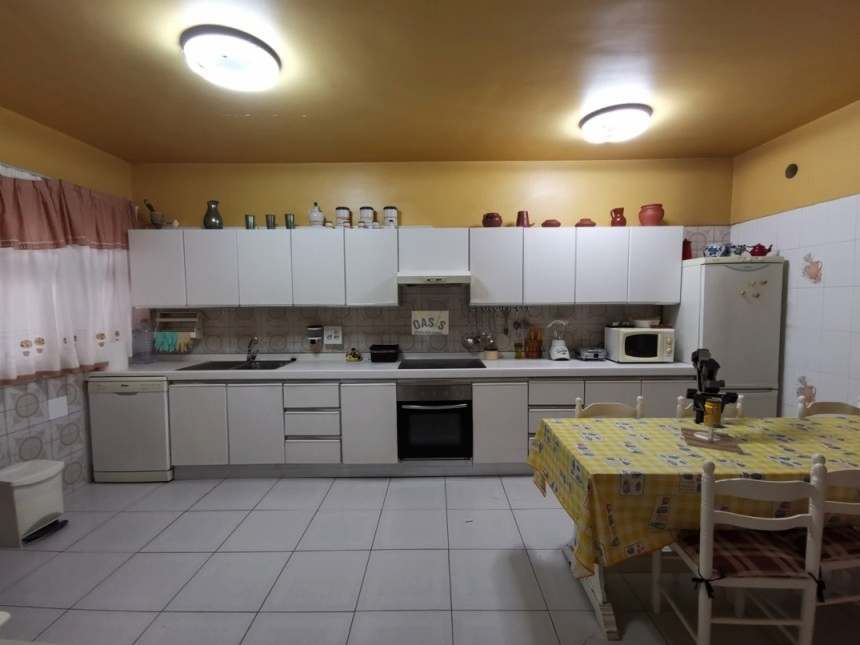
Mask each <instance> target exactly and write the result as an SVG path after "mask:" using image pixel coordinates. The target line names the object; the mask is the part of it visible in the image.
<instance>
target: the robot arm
mask: <svg viewBox="0 0 860 645" xmlns="http://www.w3.org/2000/svg"><path fill="white" fill-rule="evenodd" d="M691 362H692V366H693V368H694V369H695V370H696V388H693V387H692V388H691V387H688V388H687V389H686V391H685V399H688V400H692V404H691V409H692V411H693V412H695V415H694V416H695V418H694V419H693V422H694V423H695V424H697V425H698V424H699V425H701V424H700V423H704V412H705V404H706V399H709V398H710V399H720V402H721V403H720V404H721V405H720V406H721V414H724V411H725V410H724V409H725V407H726V405H729V404H737V401H738V399H739V394H738V392H735V391H725V393H724V394H723V393H720V390H721V388H723V389H725V388H726V381H725V379H719V380H717V375H718V373H719V370H720V369H721V365H720V363H719V362H718V361H717V360H716V359H715V358H712V354H711V352H710V350H709V349H708V348H696V350H695V351H693V352H691V355H690V363H691Z"/></svg>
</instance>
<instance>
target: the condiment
mask: <svg viewBox="0 0 860 645" xmlns="http://www.w3.org/2000/svg"><path fill="white" fill-rule="evenodd" d="M720 403H721V399H720V400H719V399H718V398H712V399H710V398H709V399H706V404H705V412H704V423H700V424H699V425H702V426H704V427H706V428H708V429H709V428H712V429H714V430H716V429H717V430H719V429H729V427H728V426H725V425H724V424H722V423H721V421H722V419H721V418H722V413H721V406H720V405H721V404H720Z"/></svg>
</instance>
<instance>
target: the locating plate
mask: <svg viewBox="0 0 860 645" xmlns="http://www.w3.org/2000/svg"><path fill="white" fill-rule="evenodd" d="M680 431H681V433H682V435H683V438H684V440H685V443H686V445H687V446H688V445H689V447H696V448H703V449H709V450H717V451H722V452H723V451H724V452H730V453H735V454H736V453H737V454H740V453H741V449H740V448H739V447H738V445H737V444H736V443H735V441H734V440H733V439H732V438H731V436H730V435H729V433H727V432H720V431H715V429H712V428H708V430H703V429H697V428H689V427H680Z"/></svg>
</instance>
